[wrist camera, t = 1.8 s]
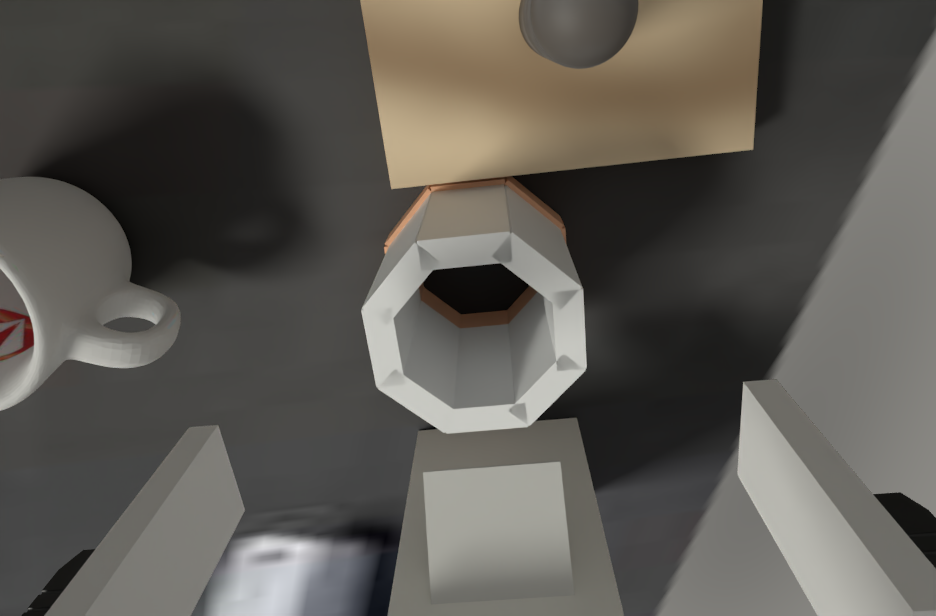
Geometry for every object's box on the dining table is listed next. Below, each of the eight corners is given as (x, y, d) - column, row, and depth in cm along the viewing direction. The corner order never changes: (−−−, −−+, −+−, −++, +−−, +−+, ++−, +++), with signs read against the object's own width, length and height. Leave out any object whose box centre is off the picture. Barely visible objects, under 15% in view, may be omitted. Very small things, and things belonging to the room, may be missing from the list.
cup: (236, 217, 28) (147, 285, 20) (200, 365, 31) (112, 470, 24) (-16, 126, 26) (-208, 163, 19) (-28, 290, 30) (-196, 376, 22)
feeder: (405, 367, 31) (354, 582, 19) (575, 352, 30) (635, 563, 18) (429, 509, 34) (401, 766, 22) (583, 498, 34) (637, 756, 22)
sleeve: (380, 184, 27) (341, 242, 20) (558, 165, 26) (586, 217, 19) (407, 342, 30) (382, 443, 23) (567, 328, 30) (595, 426, 22)
